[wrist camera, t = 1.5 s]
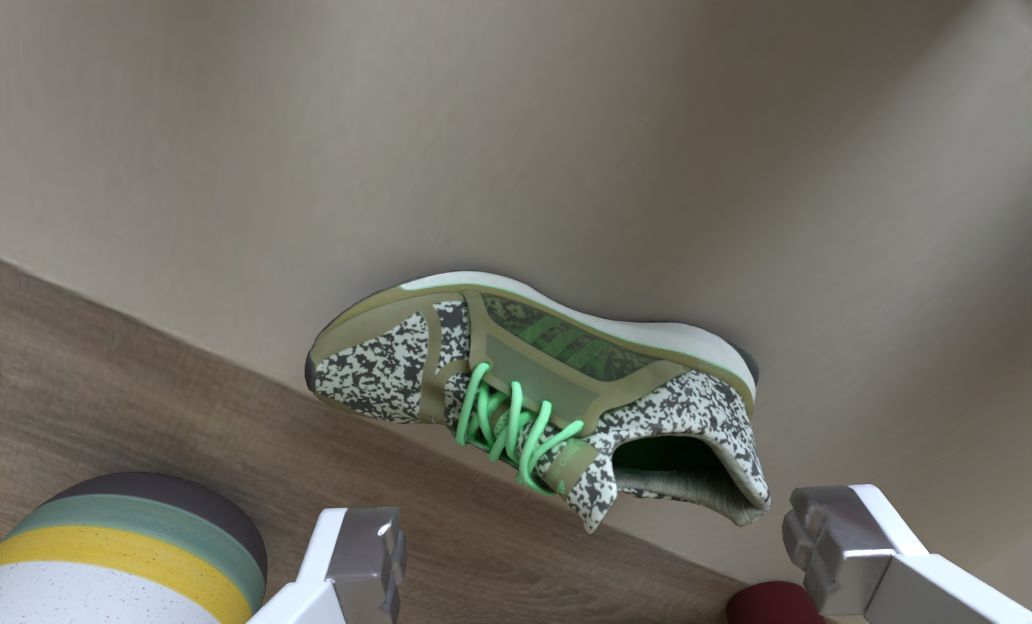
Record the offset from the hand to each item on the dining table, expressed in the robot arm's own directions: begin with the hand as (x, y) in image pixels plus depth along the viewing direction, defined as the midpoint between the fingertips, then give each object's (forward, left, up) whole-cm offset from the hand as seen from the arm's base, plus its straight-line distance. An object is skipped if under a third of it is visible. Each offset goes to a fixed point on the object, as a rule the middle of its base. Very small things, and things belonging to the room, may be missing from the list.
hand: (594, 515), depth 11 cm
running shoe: (0, +10, -21) cm, 23 cm away
